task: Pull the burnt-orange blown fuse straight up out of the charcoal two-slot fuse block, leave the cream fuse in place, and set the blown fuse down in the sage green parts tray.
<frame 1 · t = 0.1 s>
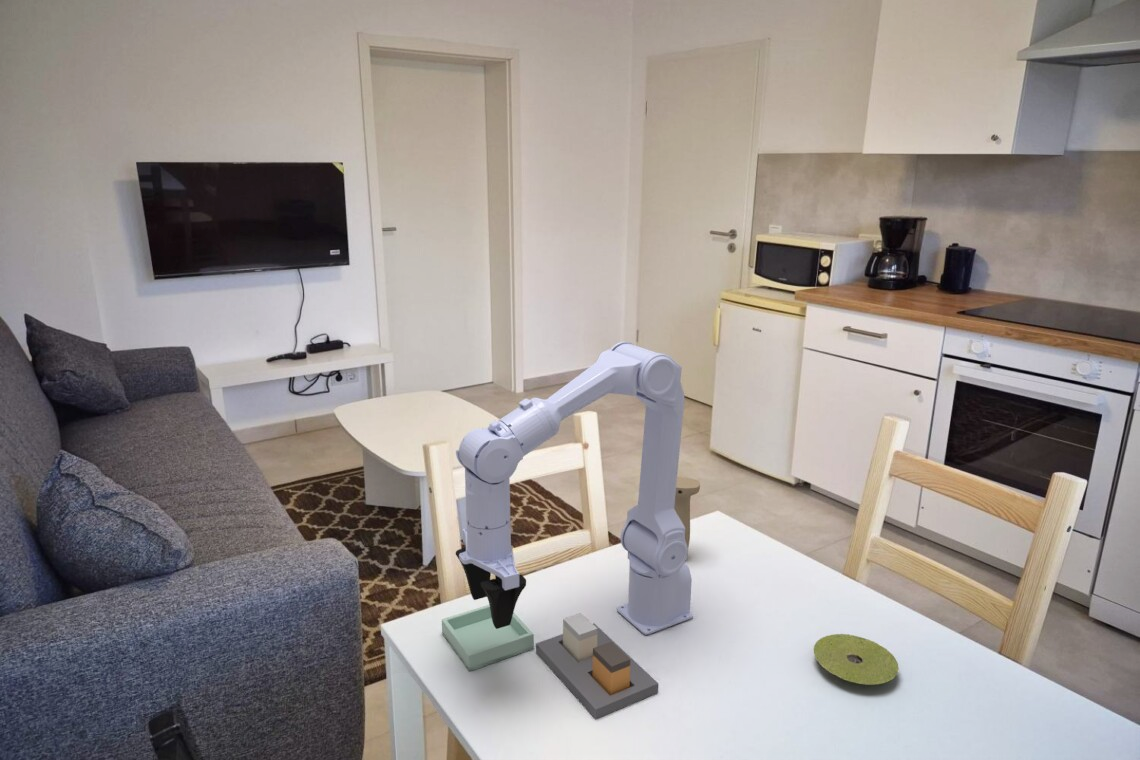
hand: (490, 611, 101), 10 cm above the table, tool pointing down, fingers open, 7 cm apart
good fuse: (579, 656, 108), resting in fuse block
fuse block: (594, 671, 105), on the table
parts tray: (487, 641, 111), on the table
blown fuse: (610, 688, 102), resting in fuse block
handle: (677, 560, 135), on the table
green sanding disc: (853, 670, 106), on the table
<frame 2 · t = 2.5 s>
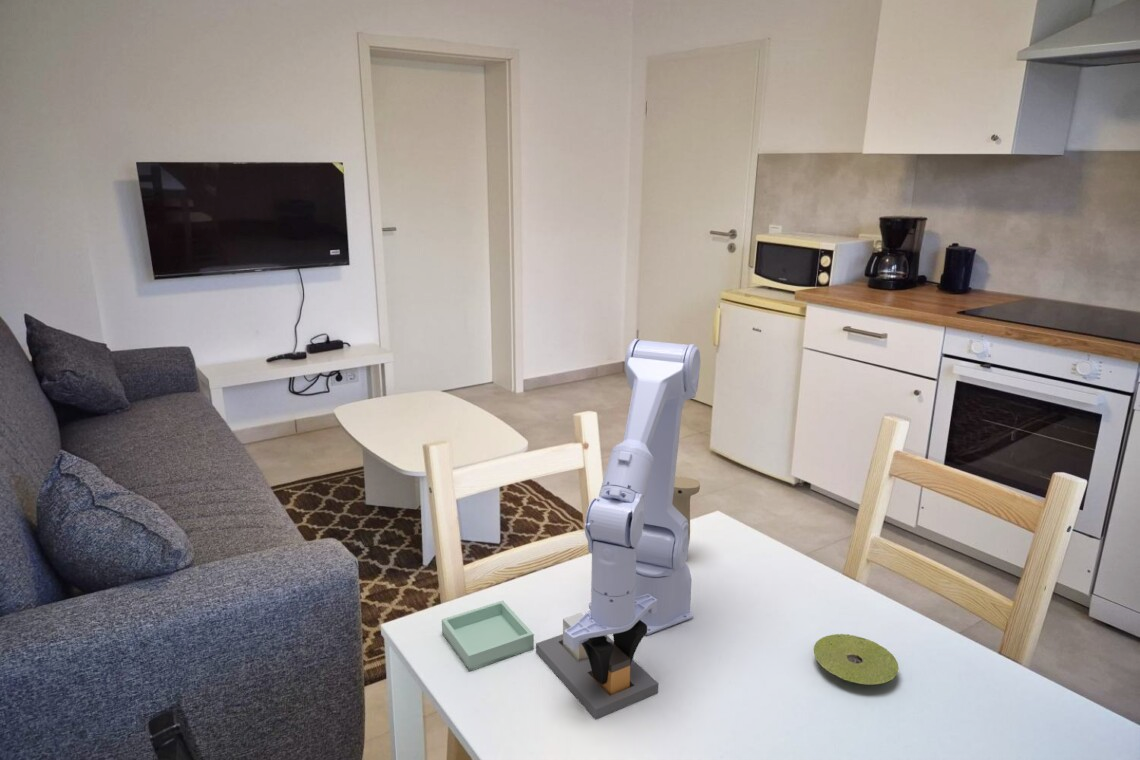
hand: (610, 674, 101), 2 cm above the table, tool pointing down, fingers closed on blown fuse, 3 cm apart
blown fuse: (610, 688, 101), resting in fuse block, touching gripper
everything else where it was.
when the fingers open (4 cm above the table, at t = 9.9 s): blown fuse drops 1 cm, resting on parts tray.
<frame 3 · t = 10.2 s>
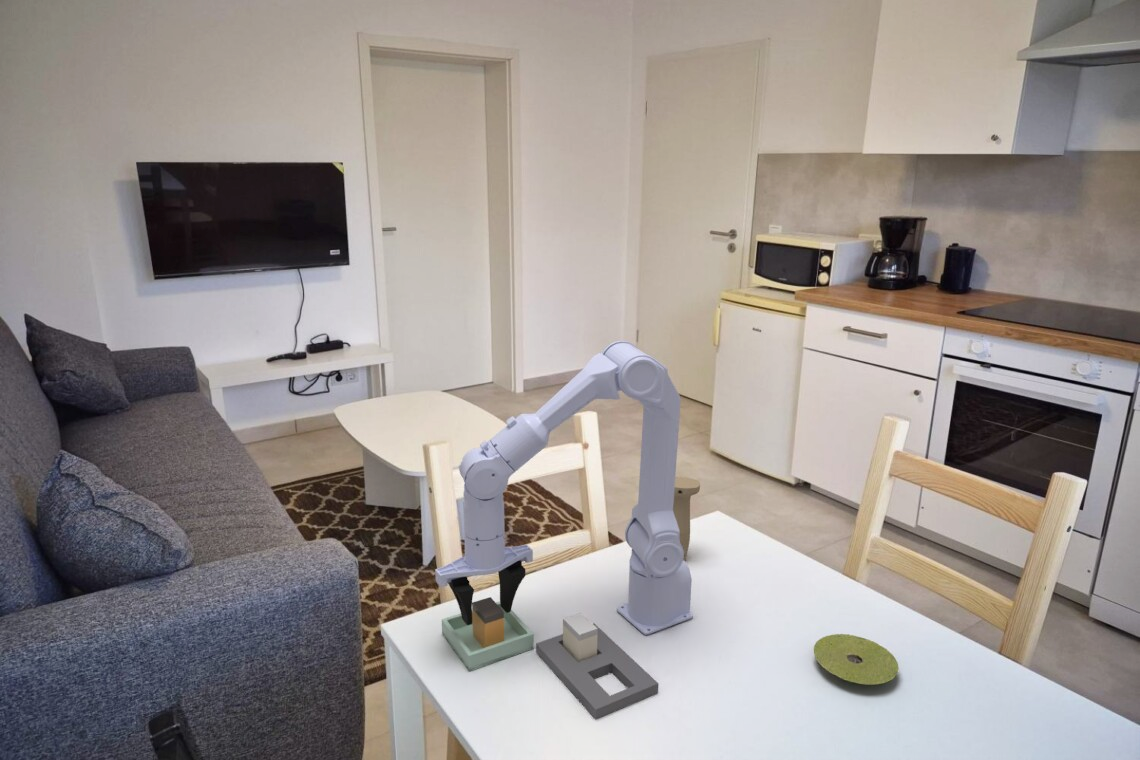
hand: (486, 615, 110), 4 cm above the table, tool pointing down, fingers open, 6 cm apart
blown fuse: (488, 639, 111), resting on parts tray
everything else where it was.
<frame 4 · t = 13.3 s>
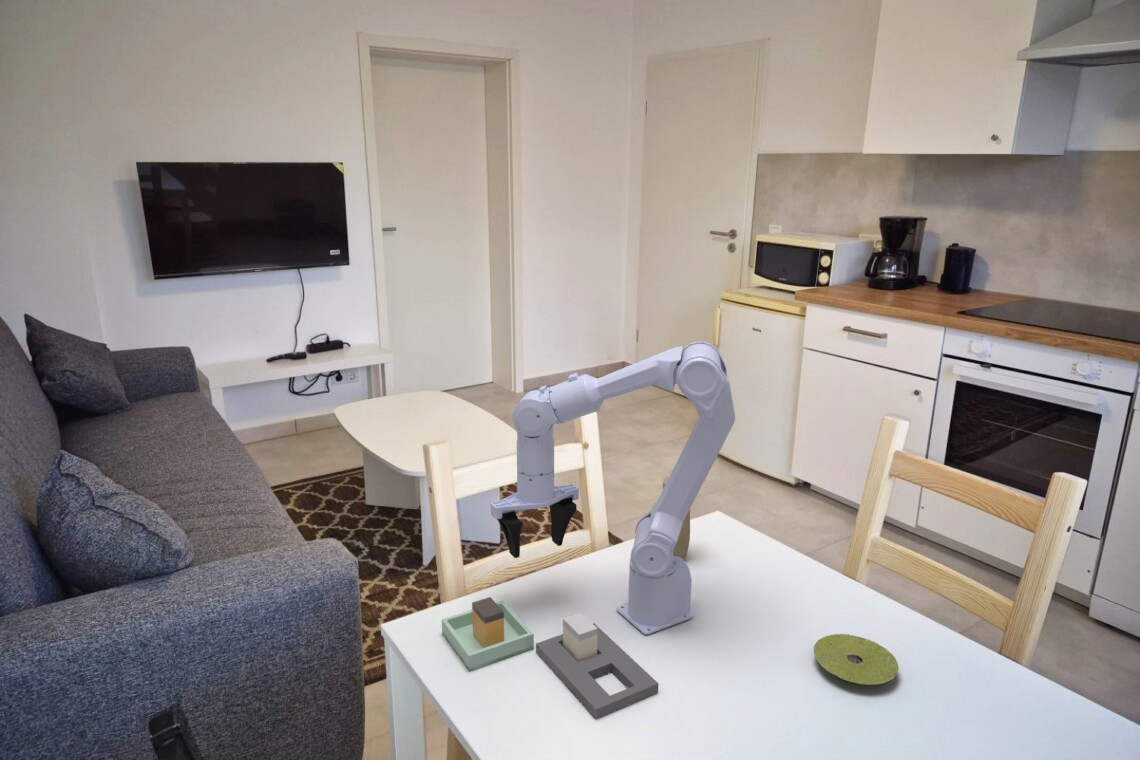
hand: (536, 549, 118), 10 cm above the table, tool pointing down, fingers open, 7 cm apart
nothing on the table moved.
at the end: blown fuse inside the target area on the parts tray (0.4 cm from its centre), point 0.5 cm above the parts tray's base; the gripper is holding nothing; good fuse moved 0.1 cm from its start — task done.
